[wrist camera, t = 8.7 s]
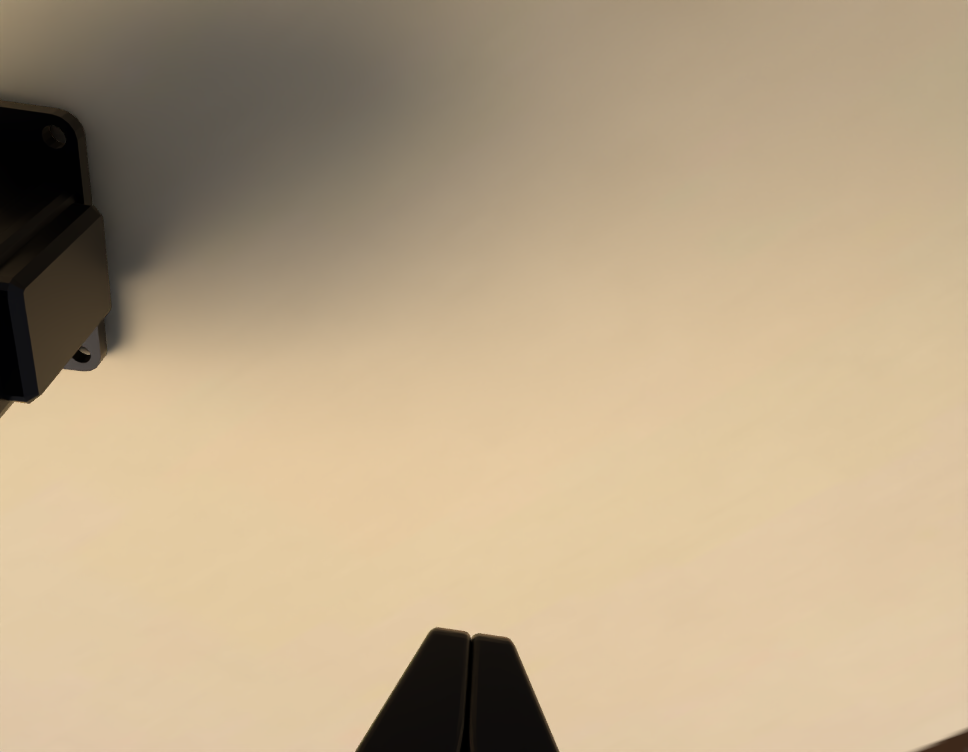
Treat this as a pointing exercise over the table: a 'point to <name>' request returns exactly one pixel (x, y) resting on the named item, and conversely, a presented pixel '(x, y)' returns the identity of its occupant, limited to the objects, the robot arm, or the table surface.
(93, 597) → the table surface
